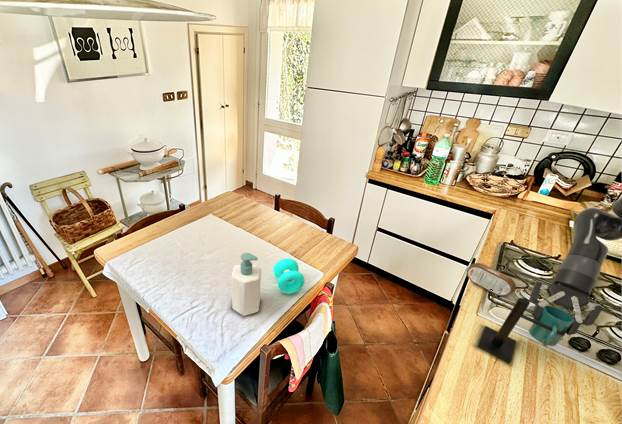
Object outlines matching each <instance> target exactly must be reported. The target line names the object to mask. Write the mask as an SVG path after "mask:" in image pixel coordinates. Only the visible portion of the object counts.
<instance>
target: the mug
mask: <svg viewBox="0 0 622 424" xmlns="http://www.w3.org/2000/svg"><path fill="white" fill-rule="evenodd" d="M536 321H539V322H541V323H543V324H545V325H548V326H550V327H552V331H550V330H548V329H545V328H543V327H541V326H539V325H537V324H534V323H532V324H531V326H530V327H529V329H528V333H529V335H530V337H532V338H533V339H534V340H536V341H537V342H539V343H541V344H542V346H543V347H548V346H549V347H556V346H557V345H558V344H559V343H560V342H561V340H562V339H563V337H564V336H561V335H559V334H556V333H557V330H559V331H562V330H565V331H566V332H567V331H568V329H569V328H570V327H571V325H572V324H573V323H574V318H573V317H572V315H571V313H568V312H567V311H565V310H563V309H562V308H559V307H556V306H553V305H545V306H543V310H542V313H541V315H540V317H539V319H538V320H536Z"/></svg>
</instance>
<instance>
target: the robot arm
mask: <svg viewBox="0 0 622 424" xmlns="http://www.w3.org/2000/svg"><path fill="white" fill-rule="evenodd" d="M611 210H612V212H613V213H614V214H612V213H610V212H607V211H605V210H602V209H599V208H597V207H588V208H586V209H583V210H581V211H579V213H578V214H577V215H576V216H575V218H574V220H573V225H572V226H573V228H572V243H571V246H570V248H569V249H568V252H567V254H566V256H565V257H564V258H563V260H562V262H561V264H560V265H559V266H558V269H557V272H556V274H555V275H554V277H553V280H552V282H551V284H549V285H546V284H544V283H542V282H541V281H537V282H536V283H534V284H533V288H532V290H531V293H530V296H529V300H528V301H529V302H530V303H532V304H533V305H534V308H533V311H532V313H531V318H532V317H533V318H532V319H534V320H538V319H539V317H540V315H541V313H542V310H543V308H544V307H545V306H548V305H549V304H551V303H553V305H556V306H560V307H562V308H564V309H566V310H569V314H570V315H571V316H572V317H573V318H574V323H573V324H572V325H571V327H570V328H569V329H568V331H567V332H566V333H565V335H567V336H572V335H576V334H577V333H578V331H579V329H580V326H581V325H582V326H587V327H589V326H592V325H594V323H595V321H596V320H597V319H598V317H599V316H600V314H601V312H602V311H603V310H604V308H603V306H602V305H597V304H595V303H593V302H590V300H589V297H590V295H591V292H592V291H593V288H594V287H595V284H596V282H597V280H598V278H599V276H600V274H601V270H602V266H603V264H604V262H605V259H606V258H607V256H608V253H609V248H608V246H607V245H606V244H604V243H603V242H602V241H600V240H599V239H601V240H604V241H610V242H612V241H617V240H621V239H622V197H620V198H618V199H616V200H615V201H614V202H613V203H612V204H611ZM598 238H599V239H598ZM544 290H546V292H547V294H548V297H547V298H545V299H543V300H541V301H540V300H539V298H538V297H539V295H540V292H543V291H544ZM585 306H586V307H587V311H589V312H588V314H587V316H586V317H585V318H584V319H583V317H582V310H581V308H583V307H585Z"/></svg>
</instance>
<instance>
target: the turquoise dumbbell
mask: <svg viewBox="0 0 622 424" xmlns="http://www.w3.org/2000/svg"><path fill="white" fill-rule="evenodd" d="M287 270H288V271H287ZM299 270H300V266H299V263H298V262H297V261H296V260H295V259H293V258H289V257H288V258H287V257H286V258H281V259H280V260H278V261H277V262H276V263H275V264H274V266H273V269H272V273H273V276H274V277H275V278H276V279H277V287H278V289H279V291H280V292H282V293H284V294H288V295H289V294H294V293H295V294H296V293H297V292H299V291H300V290H301V289H302V288H303V287H304V286H305V280H306V279H305V277H304V276H305V275H303V274H302V273H301V272H300V271H299Z"/></svg>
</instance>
